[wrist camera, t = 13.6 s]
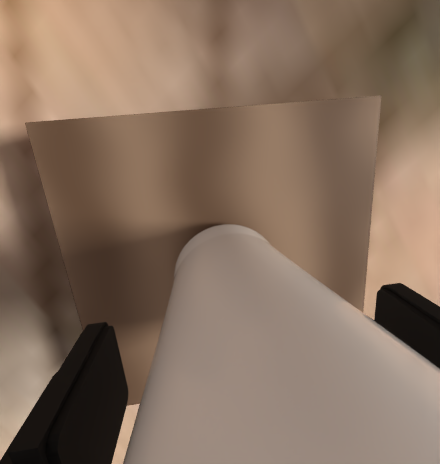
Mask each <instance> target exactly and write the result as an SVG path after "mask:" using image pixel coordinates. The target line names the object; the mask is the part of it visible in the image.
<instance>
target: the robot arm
mask: <svg viewBox="0 0 440 464" xmlns="http://www.w3.org/2000/svg"><path fill="white" fill-rule="evenodd" d="M374 321H375V322H377V323H378V324H380V325H381V326H382V327H384V328H385V329H386V330H388V331H389V332H391V333H392V334H393V335H395V336H396V337H398V338H399V339H400V340H402V341H403V342H404V343H406V344H407V345H409V346H410V347H411V348H413V349H414V350H415V351H417V352H418V353H420V354H421V355H422V356H424V357H425V358H426V359H428V360H429V361H430V362H432V363H433V364H434V365H436V366H437V367H439V368H440V307H439V306H438V305H436V304H434V303H433V302H431V301H429V300H428V299H426V298H425V297H423V296H421V295H420V294H418V293H416V292H415V291H413V290H412V289H410V288H408V287H407V286H405V285H403V284H401V283H396V284H389V285H383V286H382V287H381V289H380V290H379V291H378V292H377V299H376V309H375V320H374ZM127 402H128V386H127V381H126V377H125V373H124V368H123V364H122V360H121V356H120V351H119V347H118V343H117V339H116V334H115V330H114V327H113V326H108V324H107V322H101V323H94V324H88V325H87V326H86V327H85V329H84V330H83V332H82V334H81V335H80V337H79V338H78V340H77V342H76V343H75V345H74V346H73V348H72V350H71V351H70V353H69V355H68V356H67V358H66V359H65V361H64V363H63V364H62V366H61V368H60V369H59V371H58V372H57V373H56V374H55V375H54V376H53V377H52V379H51V380H50V382H49V384H48V385H47V387H46V388H45V390H44V392H43V393H42V395H41V396H40V398H39V400H38V401H37V403H36V404H35V406H34V408H33V409H32V411H31V412H30V414H29V416H28V417H27V419H26V420H25V422H24V424H23V425H22V427H21V428H20V430H19V432H18V433H17V435H16V436H15V438H14V440H13V441H12V443H11V444H10V446H9V448H8V449H7V451H6V452H5V454H4V456H3V457H2V459H1V460H0V464H111V463H112V459H113V455H114V452H115V448H116V444H117V440H118V436H119V432H120V429H121V425H122V421H123V417H124V413H125V409H126V406H127Z"/></svg>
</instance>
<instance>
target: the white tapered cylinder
mask: <svg viewBox="0 0 440 464" xmlns="http://www.w3.org/2000/svg"><path fill="white" fill-rule="evenodd" d="M123 464H440V368H439V367H437V366H436V365H434V364H433V363H432V362H430V361H429V360H428V359H426V358H425V357H424V356H422V355H421V354H420V353H418V352H417V351H415V350H414V349H413V348H411V347H410V346H409V345H407V344H406V343H404V342H403V341H402V340H400V339H399V338H398V337H396V336H395V335H393V334H392V333H391V332H389V331H388V330H386V329H385V328H384V327H382V326H381V325H380V324H378V323H377V322H375V321H374V320H373V319H371V318H370V317H369V316H367V315H366V314H364V313H363V312H362V311H360V310H359V309H357V308H356V307H355V306H353V305H352V304H351V303H349V302H348V301H346V300H345V299H344V298H342V297H341V296H339V295H338V294H337V293H335V292H334V291H333V290H331V289H330V288H328V287H327V286H326V285H324V284H323V283H322V282H320V281H319V280H317V279H316V278H315V277H313V276H312V275H311V274H309V273H308V272H307V271H305V270H304V269H302V268H301V267H300V266H298V265H297V264H296V263H294V262H293V261H292V260H290V259H289V258H288V257H286V256H285V255H284V254H282V253H281V252H280V251H278V250H277V249H276V248H274V247H273V246H272V245H271V244H270V243H269V241H267V240H266V239H265V238H264V237H263V236H262V235H261V234H259V233H258V232H256V231H254V230H252V229H250V228H248V227H245V226H241V225H235V224H223V225H217V226H213V227H210V228H208V229H205V230H203V231H201V232H200V233H198V234H197V235H195V236H194V237H193V238H192V239H191V240H190V241H189V242H188V243H187V244H186V245H185V246H184V248H183V249H182V251H181V252H180V254H179V256H178V259H177V261H176V265H175V270H174V278H173V285H172V289H171V293H170V297H169V301H168V304H167V308H166V312H165V316H164V319H163V323H162V327H161V330H160V334H159V337H158V341H157V345H156V348H155V352H154V355H153V359H152V363H151V366H150V370H149V373H148V377H147V380H146V384H145V388H144V391H143V395H142V398H141V402H140V405H139V409H138V412H137V416H136V420H135V423H134V427H133V430H132V434H131V437H130V441H129V445H128V448H127V452H126V455H125V459H124V463H123Z"/></svg>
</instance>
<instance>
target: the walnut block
mask: <svg viewBox="0 0 440 464" xmlns="http://www.w3.org/2000/svg"><path fill="white" fill-rule="evenodd" d="M380 106H381V96H369V97H356V98H343V99H330V100H316V101H303V102H290V103H277V104H264V105H251V106H238V107H225V108H212V109H199V110H185V111H172V112H159V113H146V114H133V115H120V116H107V117H94V118H81V119H67V120H54V121H41V122H28V123H25V125H26V128H27V132H28V135H29V139H30V143H31V146H32V150H33V153H34V157H35V161H36V164H37V168H38V171H39V175H40V178H41V182H42V186H43V189H44V193H45V196H46V200H47V204H48V207H49V211H50V214H51V218H52V221H53V225H54V229H55V232H56V236H57V239H58V243H59V247H60V250H61V254H62V257H63V261H64V264H65V268H66V272H67V275H68V279H69V282H70V286H71V290H72V293H73V297H74V300H75V304H76V307H77V311H78V315H79V318H80V322H81V325H82V329H83V330H84V329H85V327H86V326H87V325H88V324H94V323H101V322H107V324H108V326H113V327H114V330H115V334H116V339H117V343H118V347H119V351H120V356H121V360H122V364H123V368H124V373H125V377H126V381H127V386H128V402H127V406H128V405H134V404H140V402H141V398H142V395H143V391H144V388H145V384H146V380H147V377H148V373H149V370H150V366H151V363H152V359H153V355H154V352H155V348H156V345H157V341H158V337H159V334H160V330H161V327H162V323H163V319H164V316H165V312H166V308H167V304H168V301H169V297H170V293H171V289H172V285H173V278H174V270H175V265H176V261H177V259H178V256H179V254H180V252H181V251H182V249H183V248H184V246H185V245H186V244H187V243H188V242H189V241H190V240H191V239H192V238H193V237H194V236H195V235H197V234H198V233H200V232H201V231H203V230H205V229H208V228H210V227H213V226H217V225H223V224H235V225H241V226H245V227H248V228H250V229H252V230H254V231H256V232H258V233H259V234H261V235H262V236H263V237H264V238H265V239H266V240H267V241H269V243H270V244H271V245H272V246H273V247H274V248H276V249H277V250H278V251H280V252H281V253H282V254H284V255H285V256H286V257H288V258H289V259H290V260H292V261H293V262H294V263H296V264H297V265H298V266H300V267H301V268H302V269H304V270H305V271H307V272H308V273H309V274H311V275H312V276H313V277H315V278H316V279H317V280H319V281H320V282H322V283H323V284H324V285H326V286H327V287H328V288H330V289H331V290H333V291H334V292H335V293H337V294H338V295H339V296H341V297H342V298H344V299H345V300H346V301H348V302H349V303H351V304H352V305H353V306H355V307H356V308H357V309H359V310H360V311H362V312H363V308H364V296H365V284H366V272H367V260H368V248H369V236H370V225H371V213H372V201H373V189H374V177H375V165H376V153H377V141H378V129H379V118H380Z"/></svg>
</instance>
